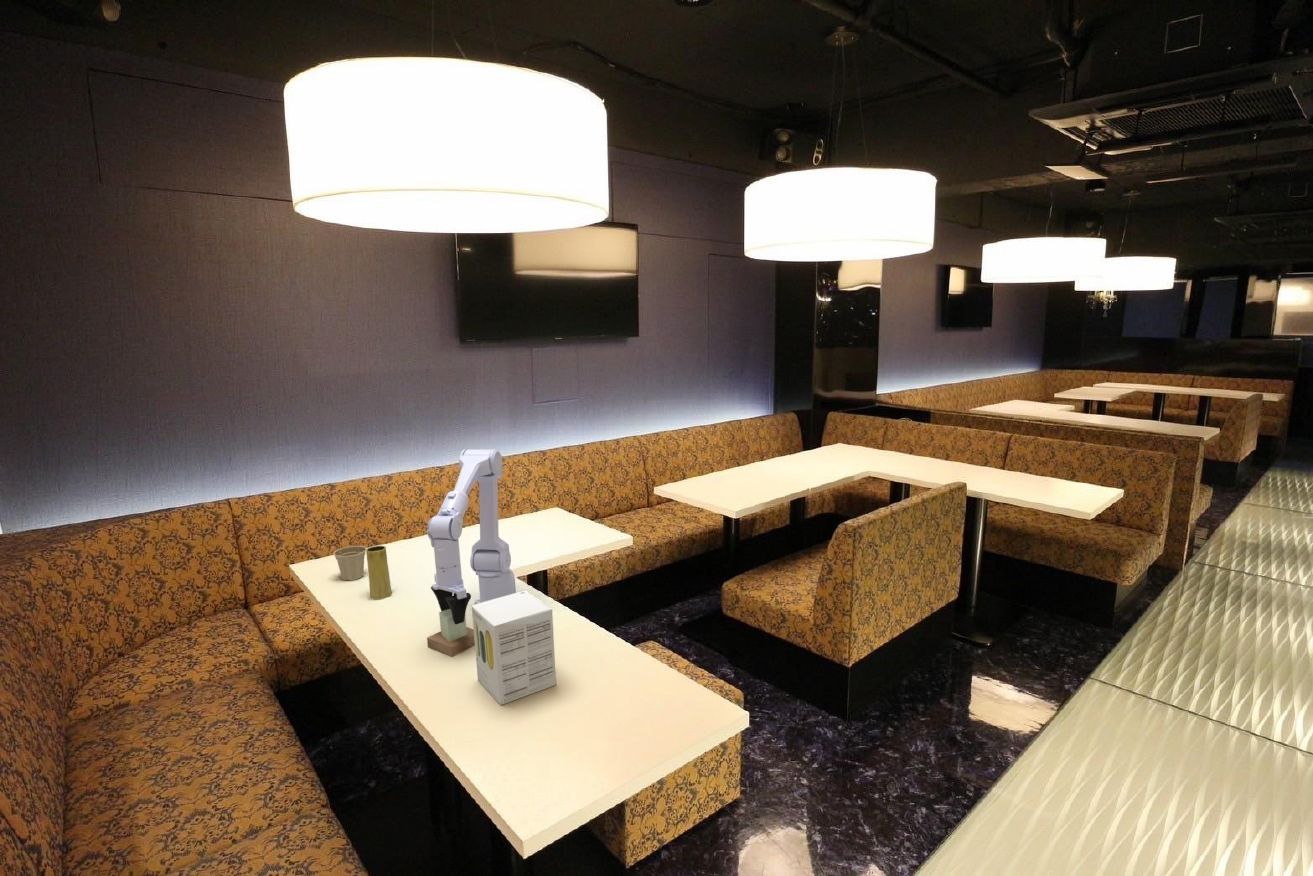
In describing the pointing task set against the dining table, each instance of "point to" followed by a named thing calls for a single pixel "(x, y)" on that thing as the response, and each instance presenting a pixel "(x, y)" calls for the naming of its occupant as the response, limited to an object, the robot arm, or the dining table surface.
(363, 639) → the dining table surface
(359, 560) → the flower pot
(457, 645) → the walnut slab
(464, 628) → the sage block
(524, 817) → the dining table surface
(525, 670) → the supplement box
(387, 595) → the vase
